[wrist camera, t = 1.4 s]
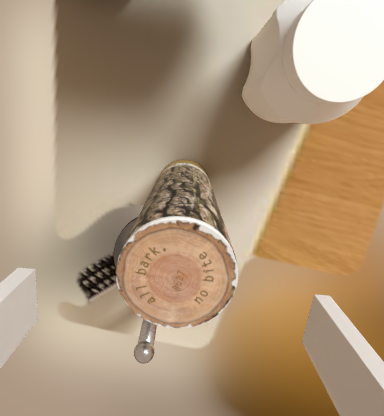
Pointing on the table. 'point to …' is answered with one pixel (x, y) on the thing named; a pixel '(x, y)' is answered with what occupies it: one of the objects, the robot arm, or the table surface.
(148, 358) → the stand
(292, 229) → the table surface
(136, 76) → the table surface
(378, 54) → the jar
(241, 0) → the table surface
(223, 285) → the paper tube
